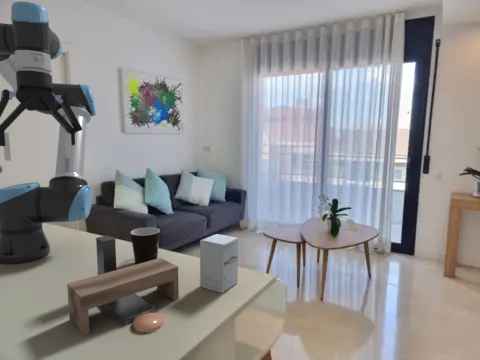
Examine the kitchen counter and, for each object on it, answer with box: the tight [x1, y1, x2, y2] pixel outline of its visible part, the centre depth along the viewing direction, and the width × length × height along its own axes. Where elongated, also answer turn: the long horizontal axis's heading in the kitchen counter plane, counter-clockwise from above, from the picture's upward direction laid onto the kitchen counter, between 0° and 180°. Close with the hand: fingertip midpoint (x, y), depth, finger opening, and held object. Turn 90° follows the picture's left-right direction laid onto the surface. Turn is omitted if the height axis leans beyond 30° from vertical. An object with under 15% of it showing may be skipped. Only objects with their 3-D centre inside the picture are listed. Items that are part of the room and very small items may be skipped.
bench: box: [66, 257, 180, 337], centre depth 75 cm, size 8×22×8 cm, turn 134°
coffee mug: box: [130, 227, 161, 265], centre depth 103 cm, size 12×9×10 cm
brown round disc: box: [132, 312, 164, 333], centre depth 69 cm, size 6×6×1 cm
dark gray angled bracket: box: [95, 234, 156, 326], centre depth 77 cm, size 18×7×14 cm, turn 44°
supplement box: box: [199, 233, 239, 294], centre depth 87 cm, size 7×7×13 cm
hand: (40, 159), depth 84 cm, fingers open, 13 cm apart
